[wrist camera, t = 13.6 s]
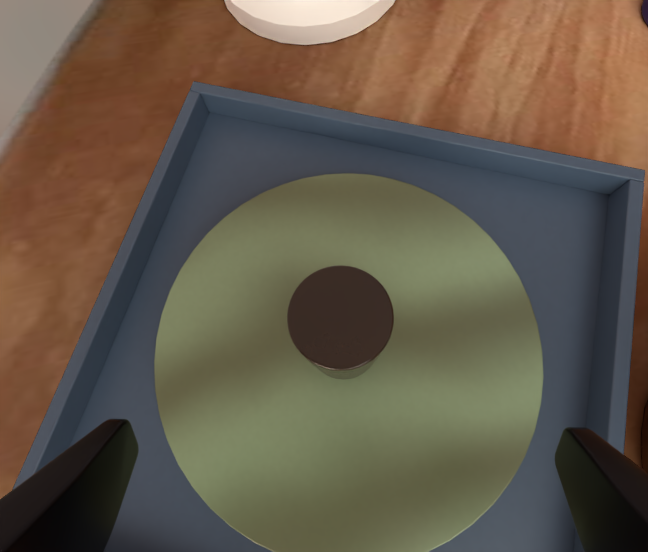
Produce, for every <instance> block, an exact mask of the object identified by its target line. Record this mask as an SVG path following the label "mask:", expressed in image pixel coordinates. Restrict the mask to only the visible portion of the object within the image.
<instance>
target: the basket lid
mask: <svg viewBox="0 0 648 552" xmlns="http://www.w3.org/2000/svg"><path fill="white" fill-rule="evenodd" d="M154 375H155V392H156V398H157V404H158V410H159V415H160V418H161V422H162V425H163V428H164V432H165V435H166V438H167V441H168V443H169V445H170V447H171V450H172V452H173V454H174V456H175V459H176V461H177V463H178V465H179V466H180V468H181V470H182V471H183V473H184V474H185V476H186V478H187V479H188V481H189V482H190V484H191V486H192V487H193V488H194V490H195V491H196V492H197V493H198V494H199V495H200V497H201V498H202V499H203V500H204V501H205V503H206V504H207V505H208V506H209V507H210V509H212V510H213V511H214V512H215V513H216V514H217V515H218V516H219V517H220V518H222V519H223V520H224V521H225V522H226V523H227V524H228V525H229V526H230V527H232V528H233V529H235V530H236V531H238V532H239V533H241V534H242V535H244V536H245V537H247V538H248V539H250V540H251V541H253V542H254V543H256V544H258V545H260V546H262V547H264V548H266V549H268V550H271V551H273V552H429V551H431V550H433V549H435V548H437V547H439V546H441V545H443V544H445V543H447V542H449V541H450V540H452V539H453V538H455V537H456V536H457V535H459V534H460V533H462V532H463V531H464V530H466V529H467V528H469V527H470V526H471V525H473V524H474V523H475V522H476V521H477V520H478V519H479V518H480V517H481V516H482V515H483V514H484V513H485V512H486V511H487V510H488V509H489V508H490V507H491V506H493V505H494V503H495V502H496V501H497V499H498V498H499V497H500V496H501V494H502V493H503V492H504V490H505V489H506V488H507V486H508V485H509V484H510V482H511V481H512V479H513V477H514V476H515V474H516V472H517V470H518V468H519V467H520V465H521V463H522V461H523V459H524V458H525V455H526V453H527V450H528V448H529V445H530V442H531V440H532V437H533V434H534V432H535V428H536V424H537V419H538V415H539V411H540V406H541V399H542V388H543V357H542V346H541V341H540V335H539V330H538V324H537V321H536V318H535V315H534V312H533V308H532V305H531V302H530V299H529V297H528V295H527V293H526V291H525V288H524V286H523V284H522V282H521V280H520V278H519V276H518V274H517V273H516V271H515V269H514V268H513V266H512V265H511V263H510V261H509V260H508V258H507V257H506V255H505V254H504V253H503V252H502V250H501V249H500V248H499V247H498V245H497V244H496V243H495V242H494V240H493V239H492V238H491V237H490V236H489V235H488V234H487V233H486V232H485V231H484V230H483V229H482V228H481V227H480V226H479V225H478V224H477V223H476V222H475V221H474V220H472V219H471V218H470V217H468V216H467V215H466V214H464V213H463V212H462V211H460V210H459V209H458V208H457V207H455V206H454V205H452V204H450V203H449V202H447V201H445V200H443V199H442V198H440V197H438V196H437V195H435V194H433V193H430V192H428V191H426V190H424V189H421V188H419V187H417V186H414V185H412V184H408V183H405V182H402V181H398V180H395V179H392V178H386V177H381V176H375V175H369V174H353V173H341V174H324V175H319V176H313V177H307V178H302V179H299V180H295V181H292V182H289V183H285V184H282V185H280V186H277V187H275V188H273V189H270V190H268V191H265V192H263V193H261V194H259V195H258V196H256V197H254V198H252V199H251V200H249V201H247V202H245V203H244V204H242V205H241V206H239V207H238V208H236V209H235V210H234V211H232V212H231V213H230V214H228V215H227V216H226V217H224V218H223V219H222V220H221V221H220V222H219V223H218V224H217V225H216V226H215V227H214V228H213V229H212V230H210V231H209V232H208V233H207V234H206V236H205V237H204V238H203V239H202V240H201V242H200V243H199V244H198V245H197V246H196V248H195V249H194V250H193V251H192V253H191V254H190V256H189V257H188V259H187V260H186V262H185V264H184V265H183V267H182V268H181V270H180V271H179V273H178V275H177V278H176V280H175V282H174V284H173V286H172V288H171V290H170V292H169V295H168V297H167V300H166V303H165V306H164V309H163V312H162V315H161V319H160V324H159V328H158V333H157V338H156V348H155V359H154Z"/></svg>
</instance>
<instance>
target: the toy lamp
mask: <svg viewBox="0 0 648 552" xmlns="http://www.w3.org/2000/svg"><path fill="white" fill-rule="evenodd" d="M642 16H643V18H644V20H645V22H646V23H647V24H648V0H643V4H642Z"/></svg>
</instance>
